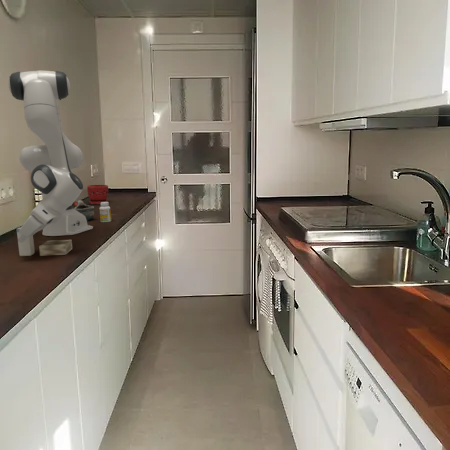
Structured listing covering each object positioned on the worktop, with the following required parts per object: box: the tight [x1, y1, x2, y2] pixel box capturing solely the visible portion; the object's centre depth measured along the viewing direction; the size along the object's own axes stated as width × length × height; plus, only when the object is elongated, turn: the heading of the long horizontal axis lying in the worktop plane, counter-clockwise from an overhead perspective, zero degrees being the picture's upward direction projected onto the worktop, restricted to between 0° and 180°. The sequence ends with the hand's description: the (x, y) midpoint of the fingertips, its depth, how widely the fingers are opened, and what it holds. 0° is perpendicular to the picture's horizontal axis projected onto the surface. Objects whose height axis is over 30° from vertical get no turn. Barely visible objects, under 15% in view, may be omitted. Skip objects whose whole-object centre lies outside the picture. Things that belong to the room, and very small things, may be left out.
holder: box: [38, 239, 73, 257], centre depth 167 cm, size 9×9×4 cm
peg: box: [15, 226, 36, 257], centre depth 164 cm, size 4×4×10 cm
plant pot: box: [86, 184, 109, 205], centre depth 293 cm, size 13×13×12 cm
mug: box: [73, 199, 95, 222], centre depth 233 cm, size 10×12×10 cm
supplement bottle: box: [98, 201, 112, 223], centre depth 227 cm, size 5×5×10 cm
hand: (23, 239), depth 164 cm, fingers open, 6 cm apart
